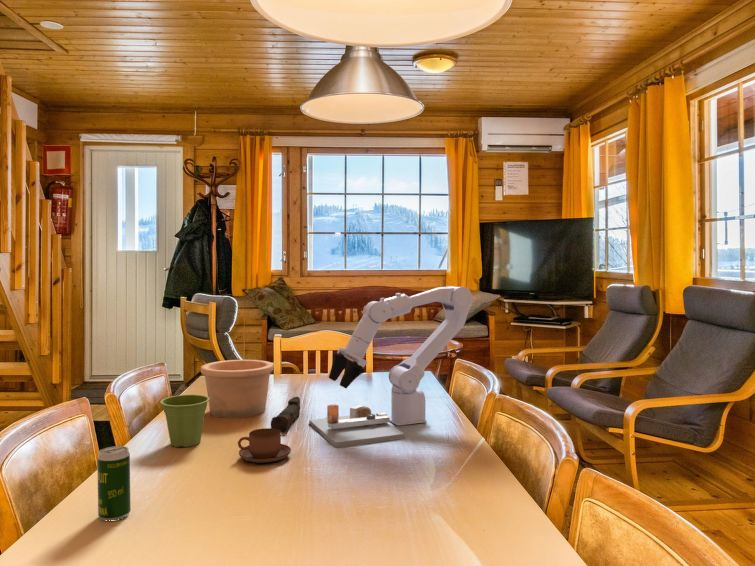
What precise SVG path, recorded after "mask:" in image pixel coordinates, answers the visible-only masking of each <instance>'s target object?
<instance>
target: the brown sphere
mask: <svg viewBox="0 0 755 566" xmlns="http://www.w3.org/2000/svg"><path fill="white" fill-rule="evenodd" d="M367 414H372V410H371V408H370V407H368V406H365V407H362V408H361V409H360V410H359V416H360V417H361V418H363V417H367Z"/></svg>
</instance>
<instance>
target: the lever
mask: <svg viewBox="0 0 755 566" xmlns="http://www.w3.org/2000/svg"><path fill="white" fill-rule="evenodd" d="M326 407H327V408H326V412H327V414H326V415H327V417H326V418H327V423H328V427H329V428H330V429H337V428H346V427H355V426H363V425H372V424H380V423H388V424H389V423H390V417H391V416H388V413H385V412H379V413H376V414H375V413H371V414H367V417H363V418H354V419H345V420H339V417H340V415H339V405H338V404H328V405H327V406H326Z"/></svg>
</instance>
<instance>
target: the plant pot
mask: <svg viewBox="0 0 755 566" xmlns="http://www.w3.org/2000/svg"><path fill="white" fill-rule="evenodd" d="M209 399H210V398H209V397H208V395H205V394H204V395H203V394H180V395H179V394H178V395H173V396H172V395H171V396H168V397H165V398H163V399H161V400H160V404H161V405H162V409H163V413H164V415H165V419H166V425H167V430H168V437H169V441H170V445H171V446H172V447H174V448H179V447H184V448H190V447H194V446H197V445H199V443H200V442H201V441H202V440H201V439H202V435H203V434H202V433H203V428H204V427H203V426H204V421H205V413H206V410H207V406H208V403H209Z"/></svg>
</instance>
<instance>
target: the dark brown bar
mask: <svg viewBox="0 0 755 566" xmlns="http://www.w3.org/2000/svg"><path fill="white" fill-rule="evenodd" d="M300 411H301V399H300V397H299V396H293V397H292V398H290V399H289V400H288V401H287V406H286V407H285V408H283V410H282V411H281V412H279V414H278V415H276V416H274V417H272V418H271V421H270V428H272V429H277V430H280V431H281V434H282V433H286V432H287V431H288V429H289V427H290V425H291V423H293V422H294V420H295V419H298V418H299V416H300V413H301V412H300Z"/></svg>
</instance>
